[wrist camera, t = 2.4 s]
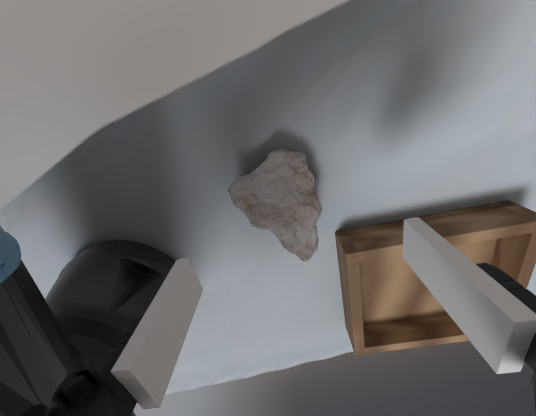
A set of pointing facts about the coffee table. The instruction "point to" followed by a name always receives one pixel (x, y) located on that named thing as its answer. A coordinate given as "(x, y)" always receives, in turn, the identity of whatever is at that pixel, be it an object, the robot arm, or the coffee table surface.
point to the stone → (282, 200)
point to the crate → (408, 283)
